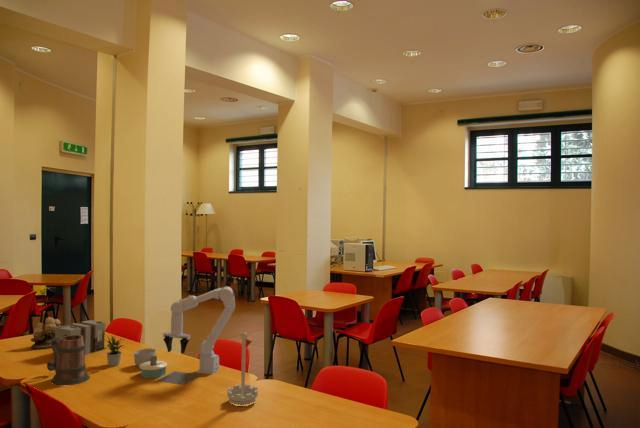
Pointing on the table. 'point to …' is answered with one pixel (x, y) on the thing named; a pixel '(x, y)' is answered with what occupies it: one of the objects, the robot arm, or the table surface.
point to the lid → (153, 364)
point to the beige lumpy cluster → (45, 334)
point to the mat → (178, 378)
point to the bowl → (153, 373)
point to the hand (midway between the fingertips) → (176, 352)
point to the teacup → (143, 355)
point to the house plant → (113, 351)
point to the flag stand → (243, 382)
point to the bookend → (85, 334)
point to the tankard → (68, 361)
